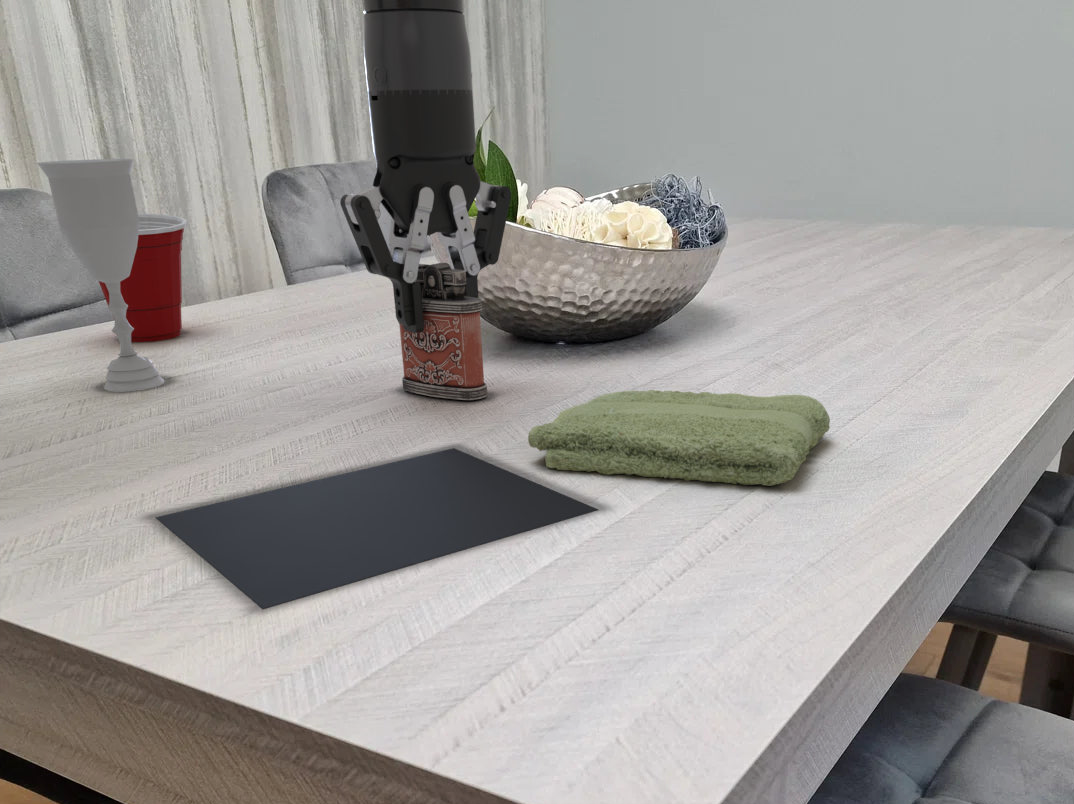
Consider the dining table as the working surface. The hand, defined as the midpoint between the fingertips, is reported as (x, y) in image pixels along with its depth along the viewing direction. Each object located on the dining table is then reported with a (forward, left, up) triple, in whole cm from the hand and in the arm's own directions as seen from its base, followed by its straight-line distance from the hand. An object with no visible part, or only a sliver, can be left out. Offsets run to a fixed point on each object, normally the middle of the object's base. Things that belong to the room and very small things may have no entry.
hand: (439, 326), depth 82 cm
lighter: (0, 0, -5) cm, 5 cm away
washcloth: (+4, -25, -6) cm, 26 cm away
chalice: (-18, +21, -6) cm, 29 cm away
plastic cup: (-10, +42, -6) cm, 44 cm away
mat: (-17, -22, -6) cm, 28 cm away
